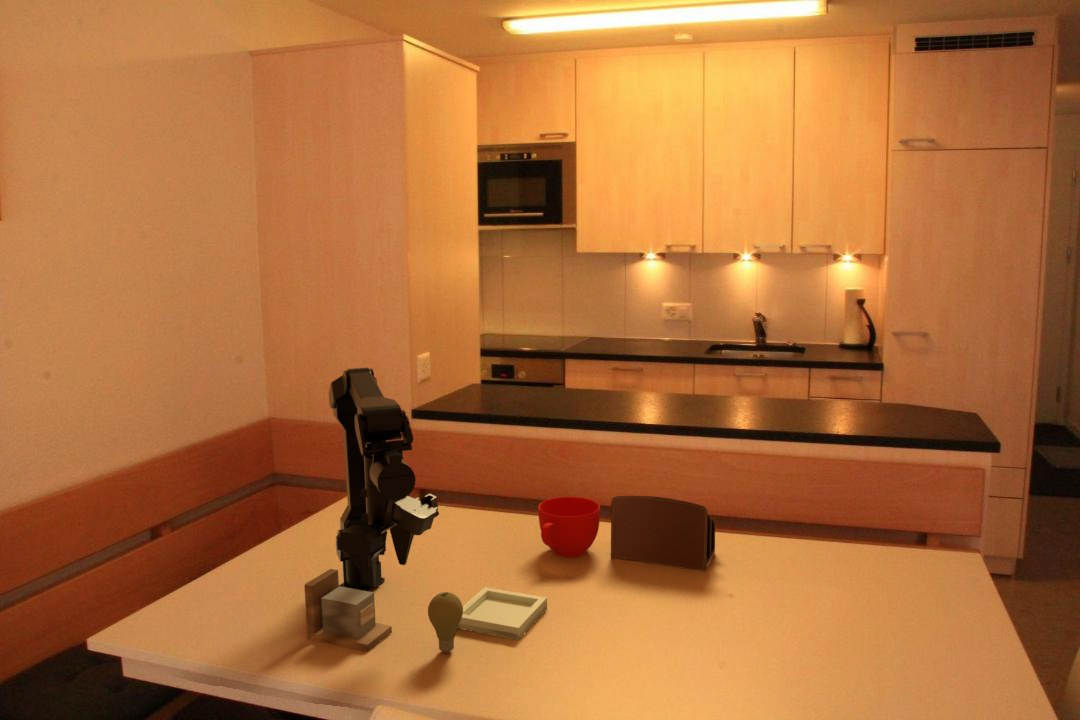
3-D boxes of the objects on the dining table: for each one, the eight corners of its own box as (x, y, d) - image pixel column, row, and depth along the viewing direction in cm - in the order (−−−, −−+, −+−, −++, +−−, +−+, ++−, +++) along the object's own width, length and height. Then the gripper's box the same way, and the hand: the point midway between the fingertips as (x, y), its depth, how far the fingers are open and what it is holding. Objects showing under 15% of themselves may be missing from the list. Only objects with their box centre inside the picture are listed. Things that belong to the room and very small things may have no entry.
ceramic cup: (516, 562, 172) (515, 515, 170) (558, 536, 186) (558, 493, 184) (571, 575, 165) (571, 526, 163) (611, 547, 179) (611, 502, 178)
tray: (452, 627, 144) (452, 615, 143) (485, 598, 155) (484, 587, 155) (518, 640, 139) (518, 627, 139) (547, 609, 150) (547, 597, 150)
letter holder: (706, 572, 166) (707, 503, 164) (609, 559, 173) (609, 493, 171) (715, 554, 175) (716, 488, 173) (623, 542, 182) (623, 479, 180)
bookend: (307, 638, 141) (304, 584, 139) (333, 620, 147) (330, 568, 146) (368, 651, 136) (365, 595, 135) (391, 632, 142) (389, 578, 141)
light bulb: (458, 662, 132) (456, 602, 131) (424, 659, 133) (422, 599, 132) (468, 645, 138) (466, 587, 136) (435, 642, 139) (433, 585, 137)
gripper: (394, 505, 123) (398, 606, 125) (455, 471, 140) (458, 560, 142) (331, 497, 127) (336, 595, 129) (398, 465, 144) (402, 552, 146)
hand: (387, 574), depth 137 cm, fingers open, 9 cm apart
